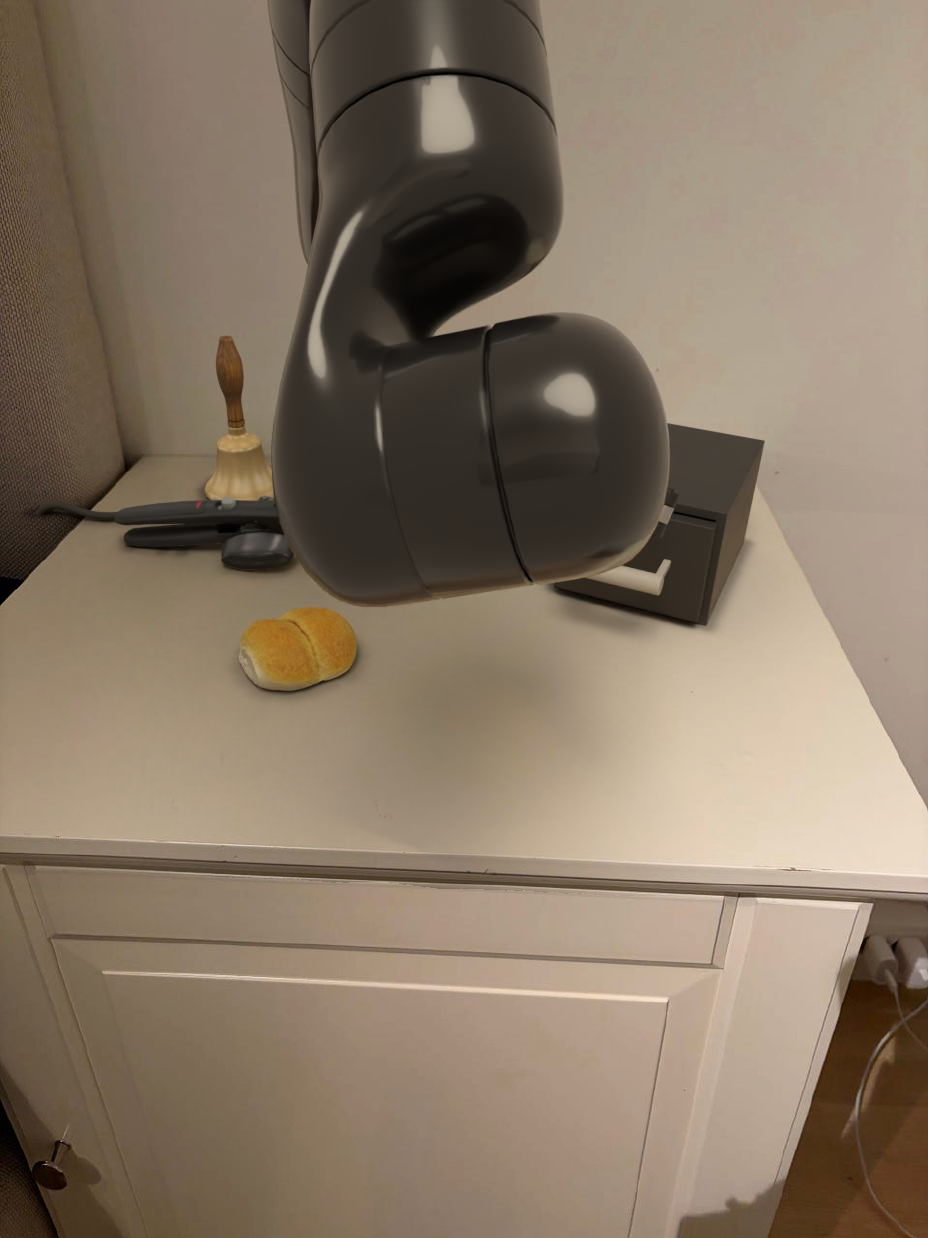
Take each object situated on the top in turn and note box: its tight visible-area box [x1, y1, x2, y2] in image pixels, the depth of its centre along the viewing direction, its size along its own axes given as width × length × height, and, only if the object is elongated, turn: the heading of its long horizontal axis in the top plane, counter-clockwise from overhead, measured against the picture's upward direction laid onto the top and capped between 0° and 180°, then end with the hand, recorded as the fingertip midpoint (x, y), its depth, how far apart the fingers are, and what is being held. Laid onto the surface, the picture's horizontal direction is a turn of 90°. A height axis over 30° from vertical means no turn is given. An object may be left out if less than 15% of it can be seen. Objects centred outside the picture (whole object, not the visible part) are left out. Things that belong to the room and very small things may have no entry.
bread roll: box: [238, 606, 358, 692], centre depth 72 cm, size 8×9×4 cm
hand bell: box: [204, 335, 274, 501], centre depth 93 cm, size 8×8×16 cm
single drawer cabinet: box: [553, 422, 766, 626], centre depth 83 cm, size 16×14×11 cm
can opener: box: [114, 495, 295, 571], centre depth 86 cm, size 18×7×6 cm, turn 80°
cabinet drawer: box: [557, 511, 718, 622], centre depth 80 cm, size 19×12×9 cm, turn 155°
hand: (575, 474), depth 58 cm, fingers closed
